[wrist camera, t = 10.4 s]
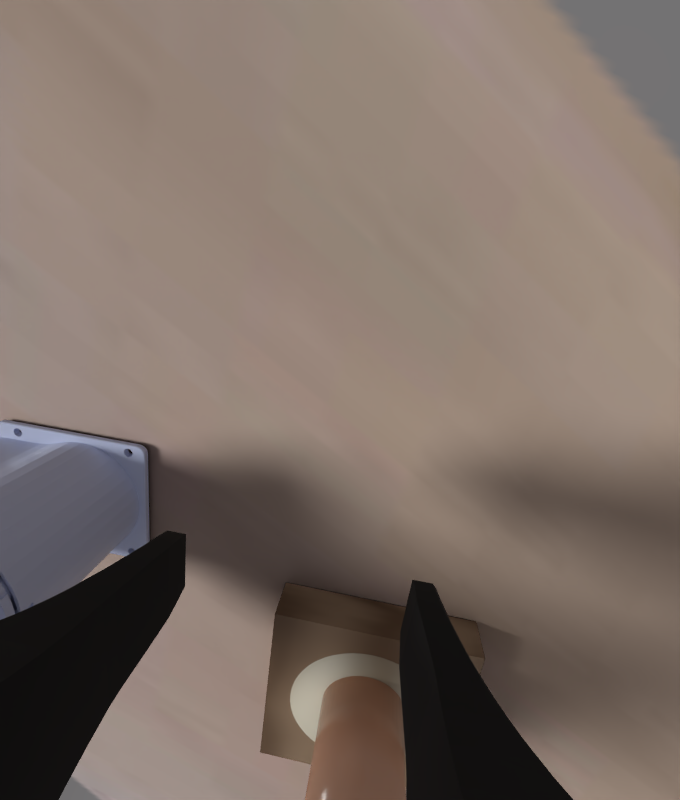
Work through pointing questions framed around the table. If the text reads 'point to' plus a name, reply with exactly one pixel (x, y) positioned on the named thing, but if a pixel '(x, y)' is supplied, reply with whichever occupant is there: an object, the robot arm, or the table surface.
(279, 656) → the plinth
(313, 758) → the terracotta cylinder
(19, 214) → the table surface
